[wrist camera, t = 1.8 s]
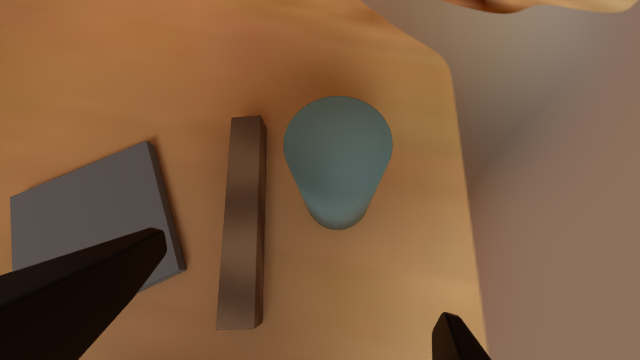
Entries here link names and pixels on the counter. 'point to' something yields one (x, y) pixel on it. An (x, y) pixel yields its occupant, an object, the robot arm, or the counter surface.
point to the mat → (95, 211)
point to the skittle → (337, 157)
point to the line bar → (243, 227)
